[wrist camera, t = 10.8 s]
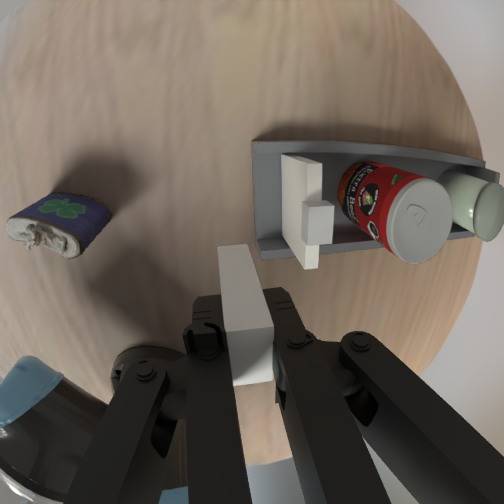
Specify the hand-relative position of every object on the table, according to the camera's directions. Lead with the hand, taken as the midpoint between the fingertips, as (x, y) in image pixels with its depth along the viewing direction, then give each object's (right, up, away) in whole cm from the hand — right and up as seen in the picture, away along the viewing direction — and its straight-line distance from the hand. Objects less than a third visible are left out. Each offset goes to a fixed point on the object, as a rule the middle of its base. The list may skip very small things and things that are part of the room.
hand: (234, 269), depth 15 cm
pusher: (+5, +7, +14) cm, 16 cm away
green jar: (+29, +9, +17) cm, 35 cm away
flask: (-19, +6, +13) cm, 23 cm away
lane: (+17, +8, +17) cm, 26 cm away
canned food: (+14, +8, +16) cm, 22 cm away
